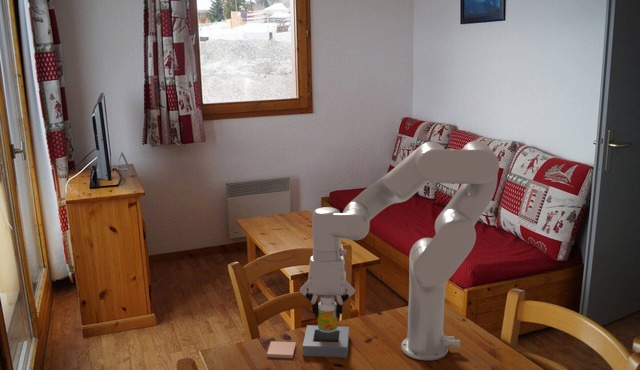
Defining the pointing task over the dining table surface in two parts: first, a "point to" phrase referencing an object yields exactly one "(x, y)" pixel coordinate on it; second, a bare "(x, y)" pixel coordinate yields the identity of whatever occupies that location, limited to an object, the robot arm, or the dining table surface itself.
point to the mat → (281, 349)
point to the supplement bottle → (327, 314)
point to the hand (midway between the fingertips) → (327, 315)
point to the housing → (326, 347)
